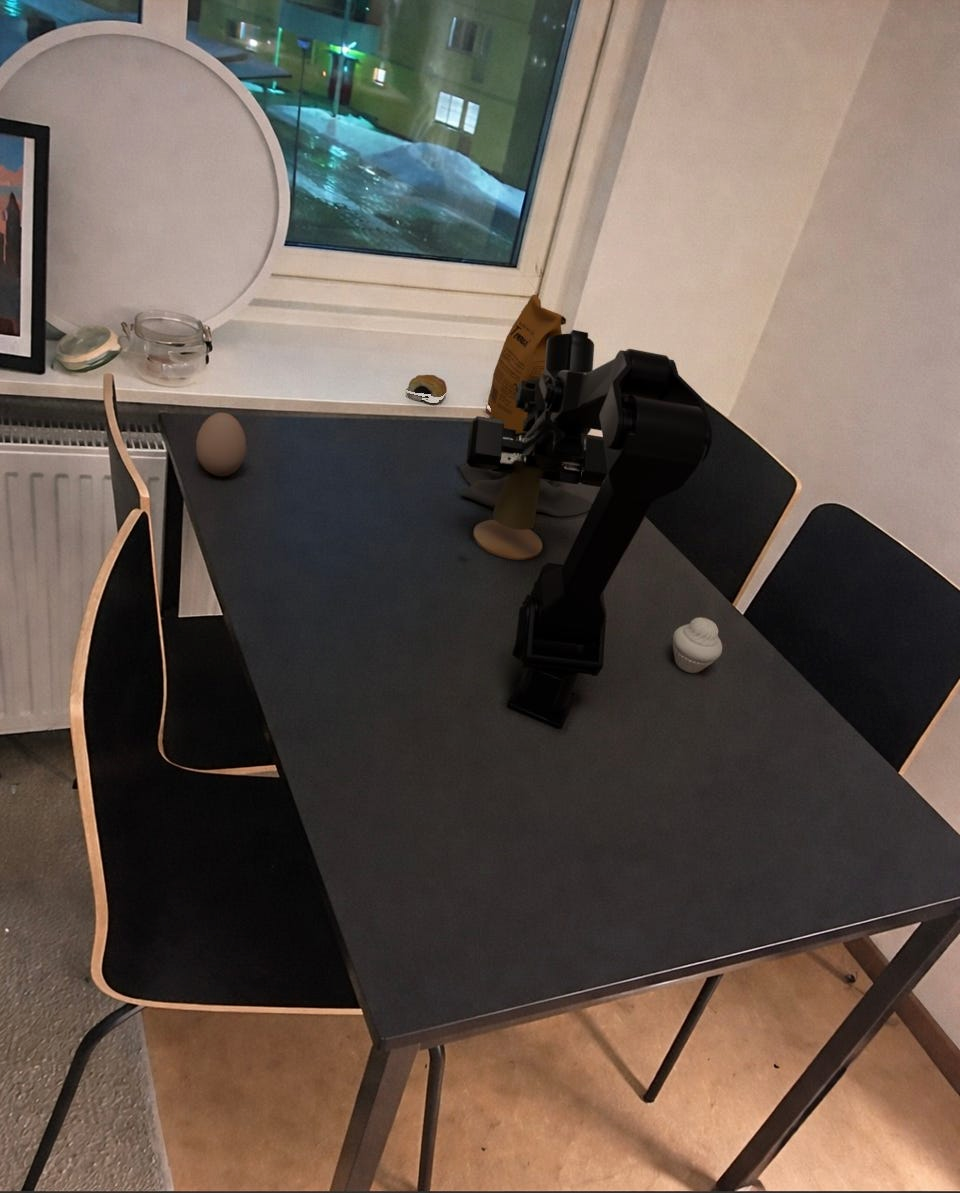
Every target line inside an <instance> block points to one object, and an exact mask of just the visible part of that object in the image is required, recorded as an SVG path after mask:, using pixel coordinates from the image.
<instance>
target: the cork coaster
mask: <svg viewBox="0 0 960 1193" xmlns="http://www.w3.org/2000/svg"><path fill="white" fill-rule="evenodd" d="M472 534H473V538H474V540H475V542H476V543H477V544H478V546H480V548H482V549H483V550H485V551H486V552H488V553H490V554H492V555H494V556H497V557H500V558H503V559H508V560H516V561H524V560H525V561H526V560H530V559H533V558H536V557H537V556H539V555H540V554H541V552H542V550H543V542H542V539H541V538H540V537H539V536H538V535H537V533H536V532H534V531H533V530H531V528H530V529H525V530H517V529H512V528H509V527H506V526H504V525H502V524H500V523H498V522H497V521H496V520H495V519H487V520H484V521H481V522H479V523H477V524H476V525H475V527H474V529H473V533H472Z"/></svg>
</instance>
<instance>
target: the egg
mask: <svg viewBox="0 0 960 1193" xmlns="http://www.w3.org/2000/svg"><path fill="white" fill-rule="evenodd" d="M195 441H196V443H195V451H196V456H197V459H198V461H199V463H200V464H201V466H202V467H203V468H204V470H206V471H207V472H208V473H209V474H211V475H213V476H216V477H227V476H229V475H232V474H233V473H235V472H236V471H237V470H238V469H239V468H240V467H241V466H242V464H243V462H244V461H245V459H246V454H247V440H246V435H245V432H244V429H243V427H242V426H241V424H240V422H239V421H238V420H237V419H236V417H234V416H232V415H231V414H229V413H227V412H216V413H214V414H212V415H210V416H209V417H207V419H206V420H205V421H204V422H203V423H202V425H201V426H200V428H199V430H198V433H197V437H196V440H195Z"/></svg>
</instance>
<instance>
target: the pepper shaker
mask: <svg viewBox="0 0 960 1193" xmlns="http://www.w3.org/2000/svg"><path fill="white" fill-rule="evenodd" d="M516 455H517V453H516ZM519 455H520V454H519ZM523 466H524V462H521V461H514V462H513V471H512V474H509V475H508V477H507V480H506V482H505V485H504V487H503V490H502V492H501V494H500V497H499V499H498V502H497V504H496V506H495V509H493V512H492V517H493V520H496V521H497V522H498V523H500V524H502V525H504V526H506V527H509V528H512V529H517V530H525V529H530V530H531V529H532V528H534V526H535V525H536V518H537V517H536V516H537V512H536V510H537V503H538V495H539V488H540V480H541V474H542V473H543V472H544V471H543V470H537V469H530V468H524V467H523Z"/></svg>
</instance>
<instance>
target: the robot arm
mask: <svg viewBox="0 0 960 1193" xmlns="http://www.w3.org/2000/svg"><path fill="white" fill-rule="evenodd" d="M594 356H595V344H594V341H593V340H592V339H591V338H590V337H589V332H588V331H587V332H586V331H581V330H576V329H571V331H570V332H569V333H562V334H560V335H556V336H553V337H550V338H549V339H548V340H547V346H546V358H545V370H544V374H542V375H541V379H538V380H536V381H534V380H528V381H523V380H522V381H521V382H520V383H519V385H518V387H517V390H516V394H515V405H516V408H521V409H523V411H524V412H527V417H526V419H525V420H524V422H523V431H525V432H526V433H525V434H519V436H518V440H516V435H517V434H516V430H513V429H507V428H504V422H503V420H499V419H493V417H487V416H481V415H477V416H475V417H473V419H472V420H471V421H470V424H469V430H468V441H467V453H466V463H468V465H469V466H470V467H475V468H481V469H488V470H492V471H495V472H501V473H507V474H512V471H513V462H514V461H521V462H524V466H523V467H524V468H530V469H537V470H543V471H544V472H543V473H542V474H541V479H546V480H553V481H558V482H560V483H565V484H572V485H579V484H581V485H583V486H584V485H585V486H589V487H596V488H599V489H598V491H597V494H596V496H595V498H594V500H593V502H592V503H591V504H592V506H591V508H590V510H589V511H587V515H586V516H585V519H584V521H583V523H582V525H581V526H580V528H579V531H578V533H577V535H576V537H575V540H574V542H573V543H572V545H571V548H570V550H569V552H568V553H567V556H566V558H565V560H564V562H563V563H554V562H546V563H545V564H543V566H542V567H541V569H540V572H539V575H538V577H537V579H536V581H535V582H534V583H533V588H532V590H531V592H530V594H527V595H526V596H525V598H524V600H523V601H522V603H521V606H520V607H519V609H518V617H517V626H516V635H515V639H514V640H515V641H514V644H513V647H512V651H511V652H512V653H511V654H512V657H514V658H515V659H517V660H518V661H519V663H520V667H521V668H524V671H523V673H522V675H521V678H520V679H519V681H518V683H517V684H516V686H515V687H514V689H513V691H512V692H511V694H510V695H509V696H510V697H509V698H508V700H507V702H506V706H507V707H508V708H510V709H512V710H515V711H517V712H519V713H522V714H523V715H526V716H528V717H531V718H533V719H536V720H539V721H540V722H543V723H544V724H545V723H546V724H548V725H550V726H553V727H555V728H558V729H562V728H563V727H564V725H565V722H566V720H567V718H568V715H569V714H570V712H571V710H572V707H573V705H574V703H575V701H576V699H577V696H578V693H577V692H576V691H574V689H575V687H576V684H577V681H578V678H579V676H580V675H581V674H583V675H589V676H592V677H597V676H598V675H599V674H600V672H601V671H602V669H603V667H604V658H605V641H606V626H607V625H606V624H607V610H606V605H605V604H606V603H605V597H604V596H605V595H604V591H605V590H606V588H607V586H608V584H609V582H610V581H611V580H612V577H613V575H614V574H615V572H616V570H617V568H618V566H619V564H620V562H621V561H622V559H623V558H624V556H625V554H626V553H627V550H628V548H629V546H630V544H631V543H632V541H633V539H634V538H635V536H636V534H637V532H638V530H639V528H640V527H641V525H642V523H643V521H644V520H645V518H646V516H647V514H648V513H649V510H650V509H651V507H652V506H653V503H654V502H655V501H657V500H658V499H661V498H664V497H665V496H667V495H669V494H671V493H673V492H675V491H678V490H680V489H681V488H683V487H684V486H685V485H686V484H687V483H688V481H689V479H690V478H691V477H692V476H693V475H694V473H695V472H696V470H697V469H698V468H699V467H700V465H701V463H703V462H704V461H705V460H706V459H707V457H708V454H709V453H710V450H711V446H712V442H713V427H712V424H711V420H710V417H709V414H708V411H707V407H706V405H705V401H704V399H703V398H702V396H701V395H700V394H699V393H698V392H697V391H696V390H695V389H694V388H693V387H692V386H691V385H690V384H689V383H688V382H687V381H686V380H685V379H684V378H682V376H681V375H680V374H679V371H678V366H677V364H676V361H675V360H674V359H670V357H668V355H665V354H661V353H656V352H655V353H654V352H651V351H650V352H649V351H645V350H640V349H639V350H638V349H635V348H627V349H626V350H624V349H623V350H622V349H619V351H617V353H616V355H615V357H614V358H613V359H611V360H609V361H607V362H605V363H603V364H602V365H600V366H598V367H596V368H594V358H595V357H594ZM591 430H595V431H601V434H602V436H600V435H593V434H589V433H590V432H591ZM516 453H517V455H516ZM519 454H520V455H519Z"/></svg>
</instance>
